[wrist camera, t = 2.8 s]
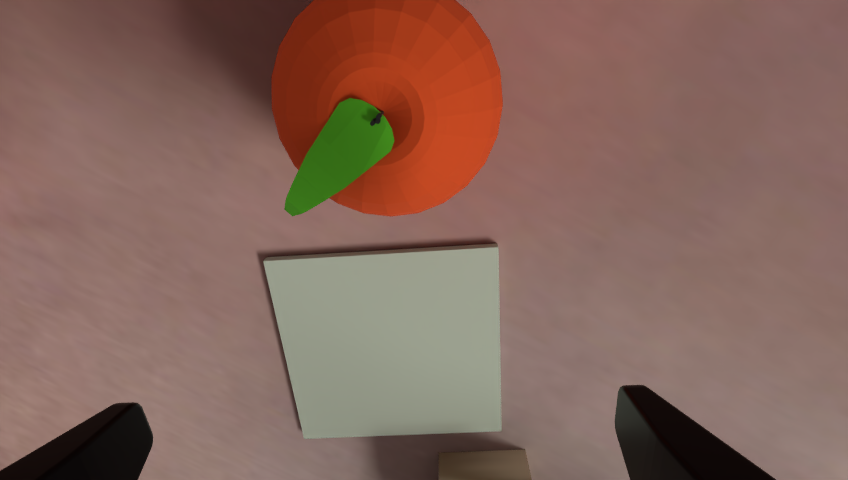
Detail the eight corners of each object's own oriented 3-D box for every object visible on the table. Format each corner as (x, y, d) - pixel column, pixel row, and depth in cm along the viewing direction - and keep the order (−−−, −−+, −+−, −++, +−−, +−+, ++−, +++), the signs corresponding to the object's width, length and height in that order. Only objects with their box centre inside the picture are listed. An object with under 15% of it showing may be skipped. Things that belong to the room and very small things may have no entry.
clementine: (385, 233, 20) (359, 326, 13) (253, 116, 18) (145, 154, 11) (529, 91, 17) (585, 118, 11) (392, -59, 16) (360, -138, 9)
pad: (306, 432, 24) (304, 438, 24) (266, 257, 20) (263, 261, 20) (500, 425, 23) (501, 431, 23) (497, 243, 20) (498, 247, 19)
